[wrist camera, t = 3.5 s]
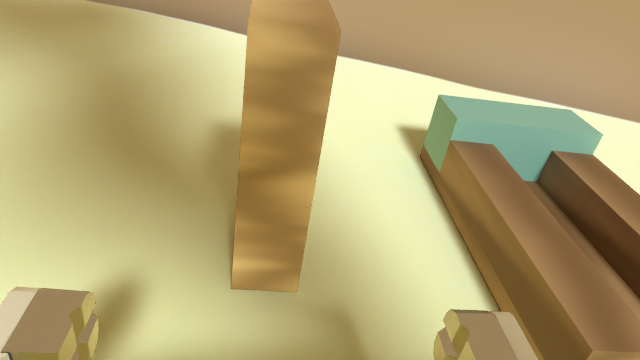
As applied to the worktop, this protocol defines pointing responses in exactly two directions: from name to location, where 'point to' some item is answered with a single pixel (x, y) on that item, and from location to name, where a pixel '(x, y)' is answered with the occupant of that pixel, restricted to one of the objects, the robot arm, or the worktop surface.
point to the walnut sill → (542, 223)
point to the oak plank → (281, 137)
